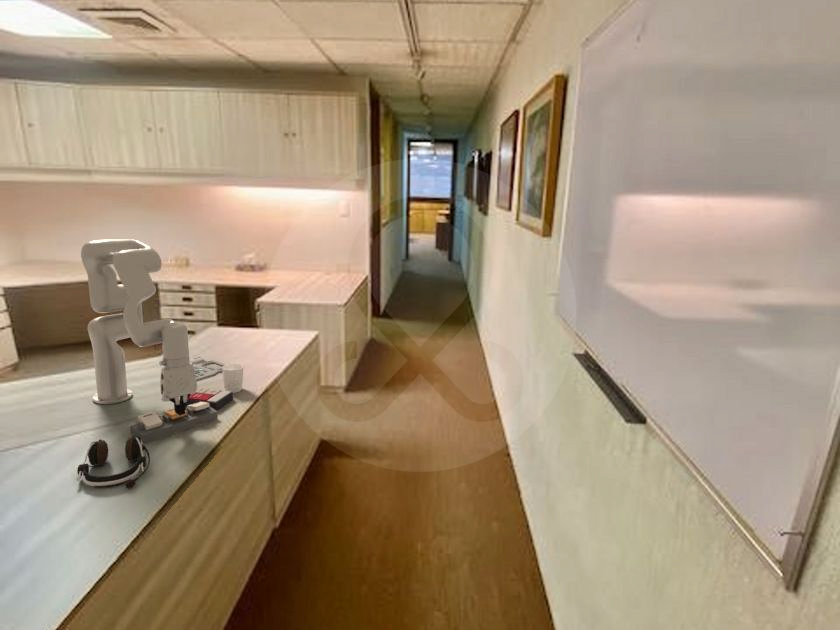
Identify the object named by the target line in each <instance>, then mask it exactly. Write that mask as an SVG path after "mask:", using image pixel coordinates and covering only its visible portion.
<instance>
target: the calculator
mask: <svg viewBox="0 0 840 630" xmlns="http://www.w3.org/2000/svg"><path fill="white" fill-rule="evenodd" d="M233 401H234V393H233V392H231V391H225V390H222V389H217V388H209V387H207V388H206V387H197V390H196V393H194V394H192V395H190V396H189V398H188V399H187V402H186V407H187V406H188V405H191V404H194V403H198V402H207V403H209V404H210V407H211V408H213V409H215V410H216V411H220V410H222V409H223V408H224V407H226V406H227V405H228V404H230V403H231V402H233Z"/></svg>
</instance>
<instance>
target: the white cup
mask: <svg viewBox="0 0 840 630" xmlns="http://www.w3.org/2000/svg"><path fill="white" fill-rule="evenodd" d="M221 368H222V370H223V372H222V382H223V391H231V392H233V394H235V393H239V392H241V391H242V390H243V381H244V380H243V379H244V365H243V364H241V363H236V362H235V363H227V364H225V365H224V366H223V367H222V366H221Z"/></svg>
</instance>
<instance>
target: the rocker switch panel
mask: <svg viewBox="0 0 840 630" xmlns="http://www.w3.org/2000/svg"><path fill="white" fill-rule="evenodd" d="M206 403H207V402H206ZM209 406H210V404H209ZM186 411H187V415H184V416H181V417H178V418H174V419H171V418H169V416H167V415H166V414H164V413H163V414H162V415H157V416H158V417H159V418H160V419H161V420H162V425H161V426H158V427H155V428H152V429H148V430H146V429H145V427H144V425H143V424H142V423H141V422H140V421H138V422H136V423H134V424H130V425H129V428H130V429H129V430H130V435H132V436H134V437H141V438H142V442H143V444H146V443H149V442H154V441H155V440H158V439H162V438H165V437H168V436H170V435H173V434H177V433H180V432H182V431H187V430H188V429H191V428H195V427H197V426H200V425H201V426H202V425H204V424H207V423H209V422H212V421H215V420H218V418H219V417H218V413H219V412H218V411H219V410H218V411H216V410H215V409H213V408H211V407H207V408H204V409H201V410H197V411H194V410H192V409H191V408H189V407H187V406H186Z"/></svg>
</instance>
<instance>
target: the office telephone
mask: <svg viewBox="0 0 840 630" xmlns="http://www.w3.org/2000/svg"><path fill="white" fill-rule="evenodd" d="M189 361H190V363H192V364H193V367H194V371H195V375H196V381H197V382H198V381H201V380H204V379H207V378H211V377H213V376H216V375H218V374H220V373H223V370H222V367H223V366H224V365H226V364H225V363H222V362H219V361H217V360H213V359H212V360H208V361H207V359H204V358H203V357H201V356H197V357H194V358H193V357H192V358H189ZM213 364H214V365H216V366H217V365H218V366H220V367H221V368H218V369H214V368H213V367H209V366H208V365H213Z"/></svg>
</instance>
